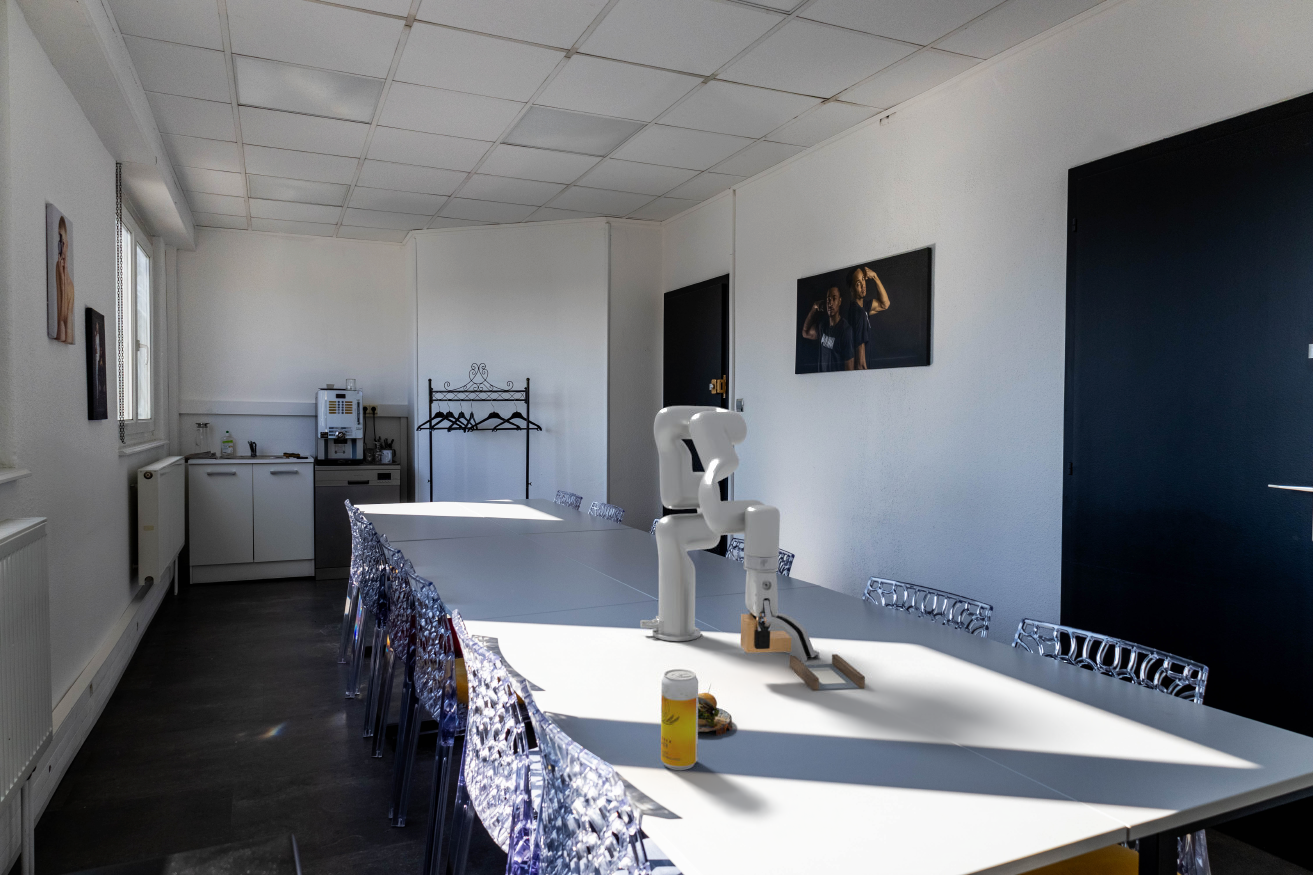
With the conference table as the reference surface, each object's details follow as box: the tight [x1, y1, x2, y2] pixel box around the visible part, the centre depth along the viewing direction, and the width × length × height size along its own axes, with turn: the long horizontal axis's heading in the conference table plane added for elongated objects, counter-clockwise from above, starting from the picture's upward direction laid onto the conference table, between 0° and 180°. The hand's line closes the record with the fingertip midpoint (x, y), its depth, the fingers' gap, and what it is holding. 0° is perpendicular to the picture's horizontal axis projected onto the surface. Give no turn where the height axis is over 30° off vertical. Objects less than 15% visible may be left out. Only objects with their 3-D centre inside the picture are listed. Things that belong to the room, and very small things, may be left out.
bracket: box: [740, 613, 791, 654], centre depth 177 cm, size 10×5×7 cm, turn 99°
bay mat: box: [804, 663, 860, 691], centre depth 179 cm, size 9×16×1 cm, turn 9°
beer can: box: [660, 668, 699, 771], centre depth 134 cm, size 6×6×15 cm
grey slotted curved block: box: [770, 613, 822, 662], centre depth 198 cm, size 17×5×10 cm, turn 21°
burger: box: [698, 684, 733, 736], centre depth 151 cm, size 12×12×8 cm
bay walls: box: [789, 653, 866, 692], centre depth 179 cm, size 11×16×2 cm
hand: (758, 643), depth 177 cm, fingers closed on bracket, 5 cm apart
